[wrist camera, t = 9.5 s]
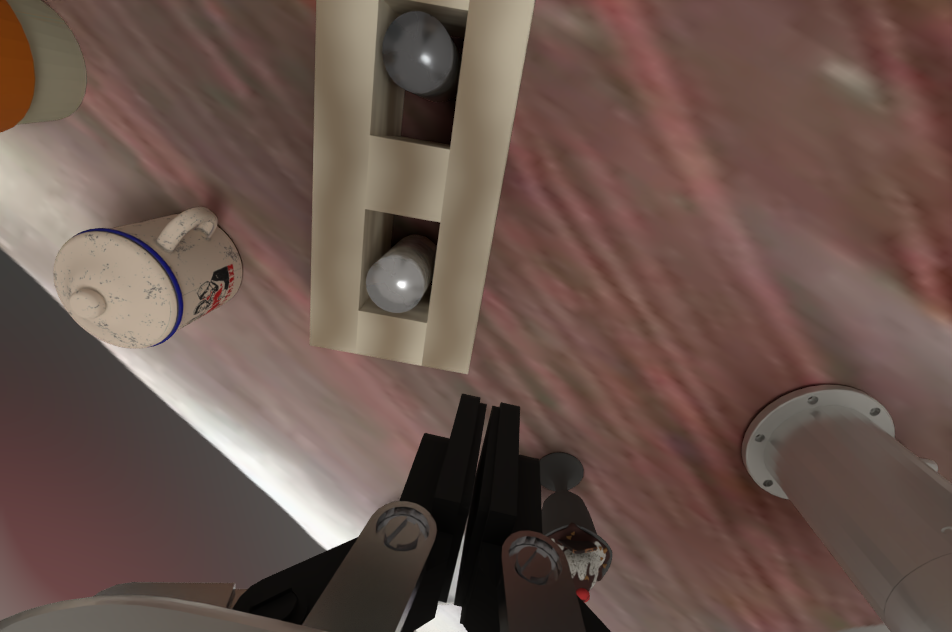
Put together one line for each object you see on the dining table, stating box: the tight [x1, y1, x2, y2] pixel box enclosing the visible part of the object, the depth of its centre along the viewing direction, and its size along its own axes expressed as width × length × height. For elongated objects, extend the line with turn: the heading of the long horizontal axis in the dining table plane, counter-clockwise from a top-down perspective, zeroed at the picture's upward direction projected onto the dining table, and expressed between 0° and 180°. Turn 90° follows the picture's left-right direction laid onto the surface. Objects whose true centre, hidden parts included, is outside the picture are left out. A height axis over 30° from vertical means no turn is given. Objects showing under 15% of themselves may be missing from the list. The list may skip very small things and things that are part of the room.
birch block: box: [310, 0, 536, 374], centre depth 32 cm, size 12×26×8 cm, turn 171°
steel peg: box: [366, 235, 437, 313], centre depth 34 cm, size 4×4×8 cm
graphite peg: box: [382, 11, 462, 103], centre depth 28 cm, size 4×4×8 cm
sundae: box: [539, 453, 612, 602], centre depth 38 cm, size 7×7×15 cm
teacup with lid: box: [54, 207, 242, 348], centre depth 34 cm, size 12×9×12 cm
